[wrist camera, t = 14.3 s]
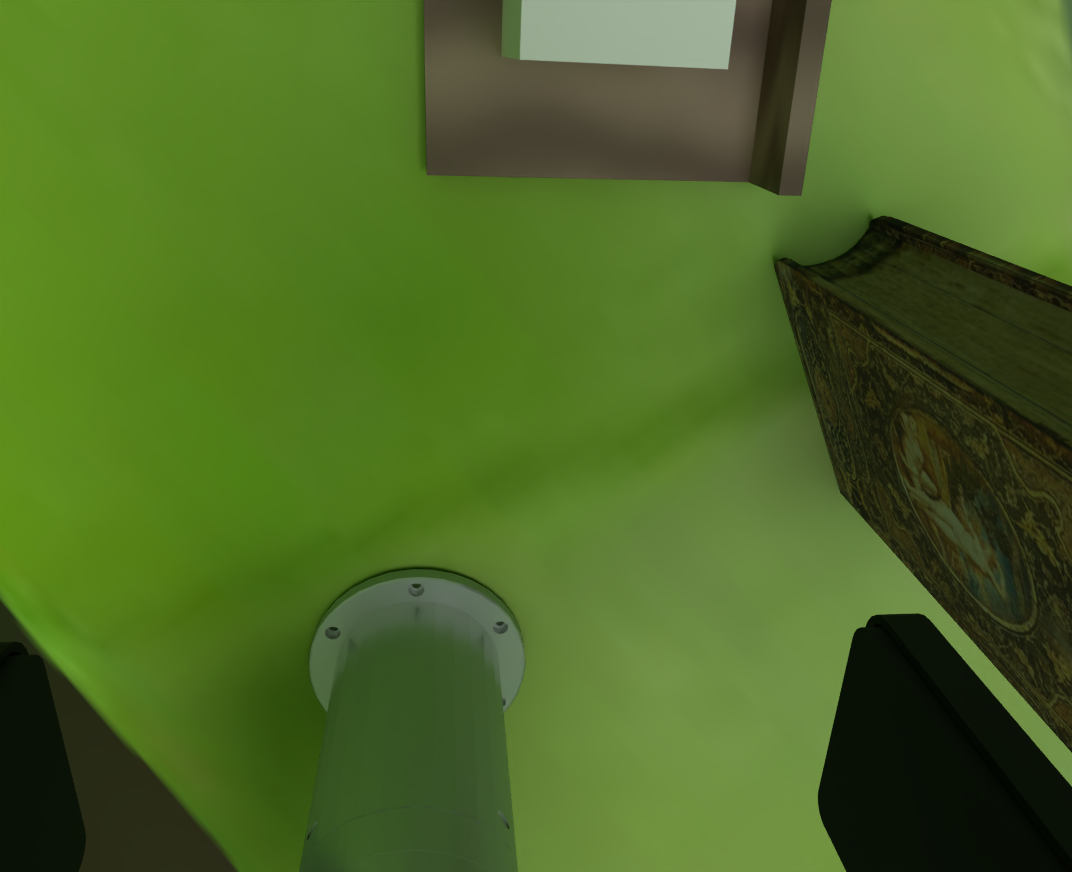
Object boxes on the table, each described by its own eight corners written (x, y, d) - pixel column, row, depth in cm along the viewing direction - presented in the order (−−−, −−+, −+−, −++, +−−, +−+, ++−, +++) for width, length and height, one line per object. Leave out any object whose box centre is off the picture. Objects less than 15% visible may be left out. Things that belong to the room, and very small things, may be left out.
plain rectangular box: (659, 64, 38) (727, 69, 29) (501, 56, 37) (519, 59, 28) (669, -39, 36) (744, -68, 27) (504, -49, 36) (524, -82, 27)
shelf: (758, 178, 42) (819, 203, 35) (427, 170, 40) (424, 195, 34) (805, -167, 36) (888, -217, 29) (421, -192, 35) (415, -250, 28)
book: (935, 474, 50) (1344, 829, 27) (845, 510, 50) (1174, 889, 28) (872, 209, 43) (1347, 388, 20) (769, 253, 44) (1123, 477, 21)
